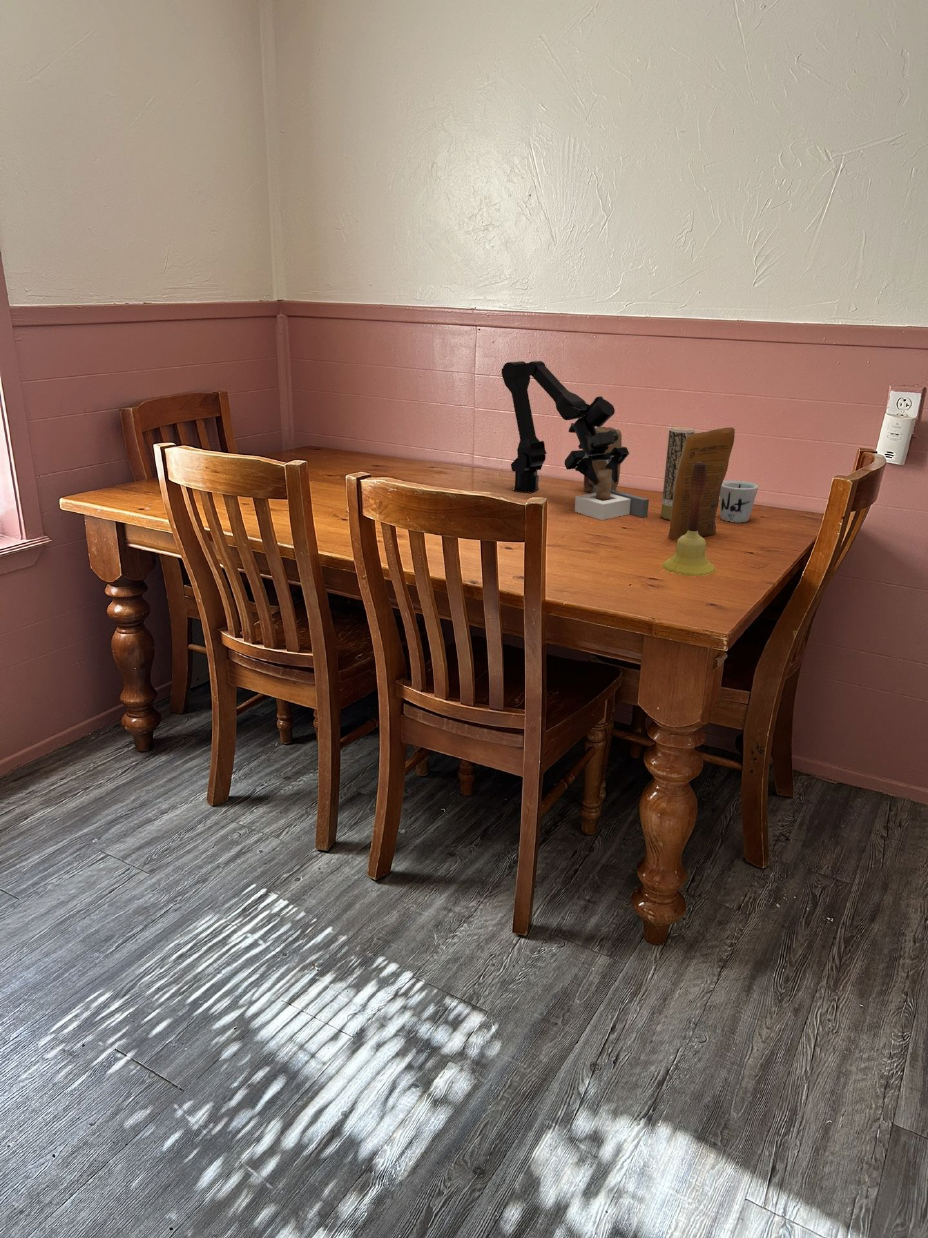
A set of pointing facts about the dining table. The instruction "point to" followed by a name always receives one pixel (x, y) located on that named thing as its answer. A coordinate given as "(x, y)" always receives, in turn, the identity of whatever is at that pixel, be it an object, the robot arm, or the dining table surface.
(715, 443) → the pancake mix bag
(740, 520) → the mug
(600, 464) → the block
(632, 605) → the dining table surface
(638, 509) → the backstop wall
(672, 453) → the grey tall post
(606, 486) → the dowel
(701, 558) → the handbell
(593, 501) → the hole block
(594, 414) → the robot arm
